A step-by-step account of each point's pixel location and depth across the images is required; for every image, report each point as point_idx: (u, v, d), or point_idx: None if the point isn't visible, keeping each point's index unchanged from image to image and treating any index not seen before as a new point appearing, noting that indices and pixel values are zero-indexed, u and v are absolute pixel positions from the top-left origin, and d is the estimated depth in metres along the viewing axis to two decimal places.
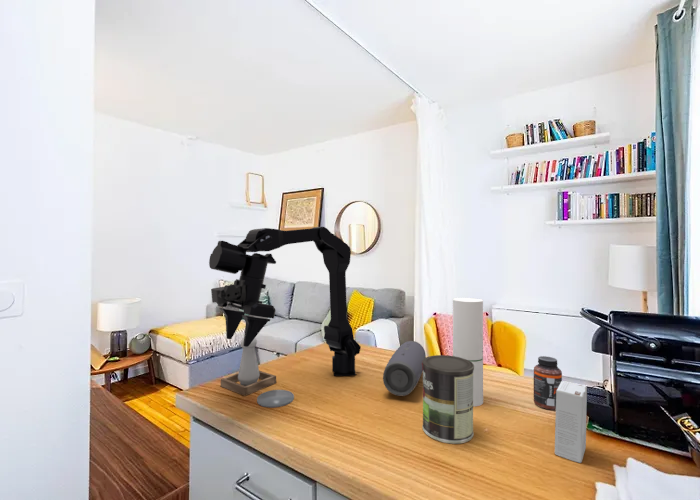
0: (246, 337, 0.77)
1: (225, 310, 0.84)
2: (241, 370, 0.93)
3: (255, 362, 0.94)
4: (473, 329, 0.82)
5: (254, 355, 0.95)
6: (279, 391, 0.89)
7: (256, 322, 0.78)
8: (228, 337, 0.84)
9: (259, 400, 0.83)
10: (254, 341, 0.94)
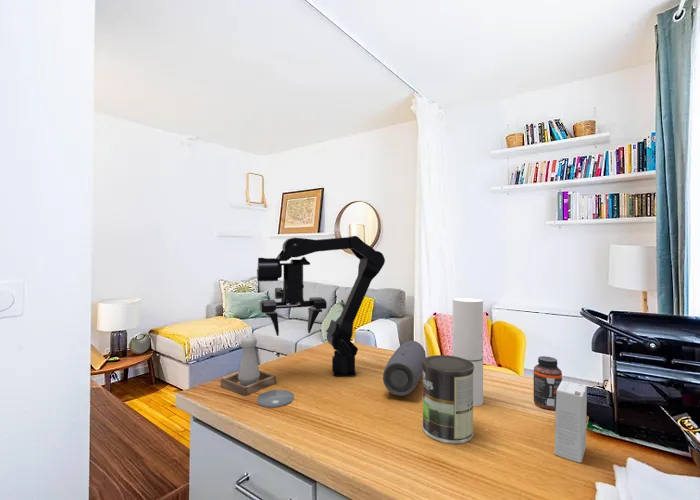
0: None
1: (308, 308, 1.04)
2: (241, 370, 0.93)
3: (255, 362, 0.94)
4: (473, 329, 0.82)
5: (254, 355, 0.95)
6: (279, 391, 0.89)
7: None
8: (308, 331, 1.01)
9: (259, 400, 0.83)
10: (254, 341, 0.94)
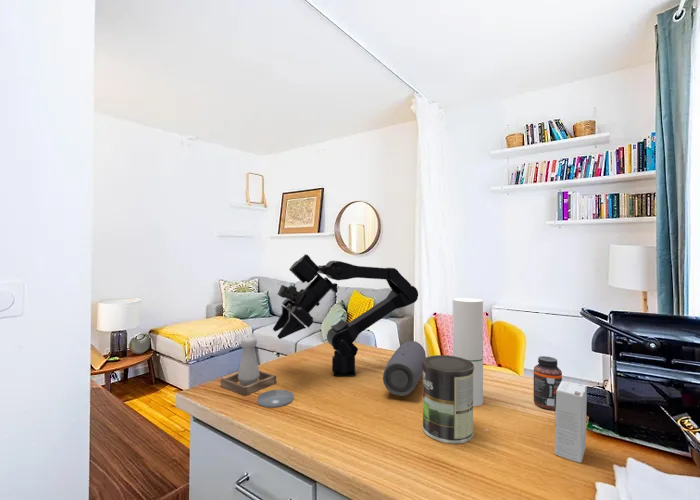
0: (282, 330, 0.93)
1: (283, 308, 1.03)
2: (241, 370, 0.93)
3: (255, 362, 0.94)
4: (473, 329, 0.82)
5: (254, 355, 0.95)
6: (279, 391, 0.89)
7: (295, 324, 0.94)
8: (274, 329, 1.02)
9: (259, 400, 0.83)
10: (254, 341, 0.94)
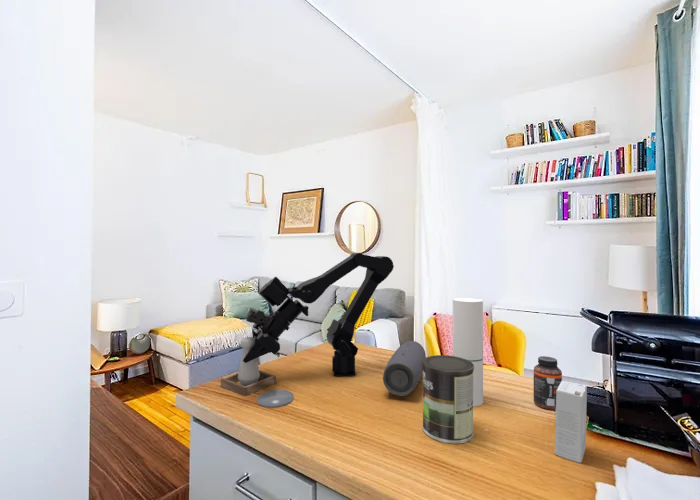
0: (247, 354, 0.92)
1: (254, 333, 0.98)
2: (241, 370, 0.93)
3: (255, 362, 0.94)
4: (473, 329, 0.82)
5: None
6: (279, 391, 0.89)
7: (261, 348, 0.93)
8: None
9: (259, 400, 0.83)
10: None
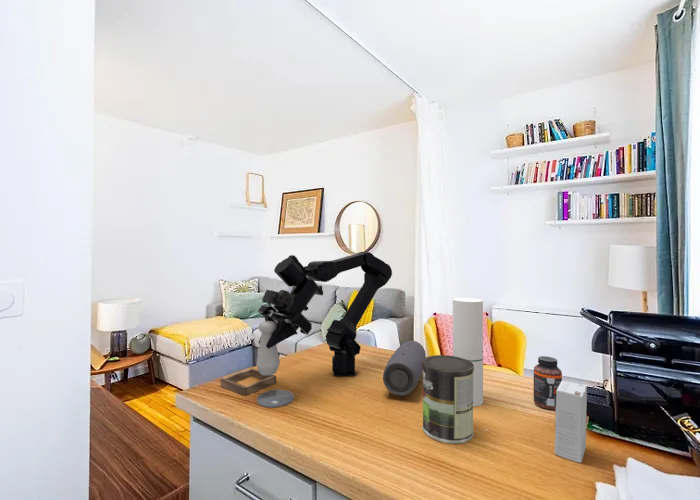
0: (272, 339, 0.85)
1: (269, 317, 0.90)
2: (263, 357, 0.85)
3: (276, 347, 0.87)
4: (473, 329, 0.82)
5: None
6: (279, 391, 0.89)
7: (285, 330, 0.87)
8: None
9: (259, 400, 0.83)
10: (275, 324, 0.87)
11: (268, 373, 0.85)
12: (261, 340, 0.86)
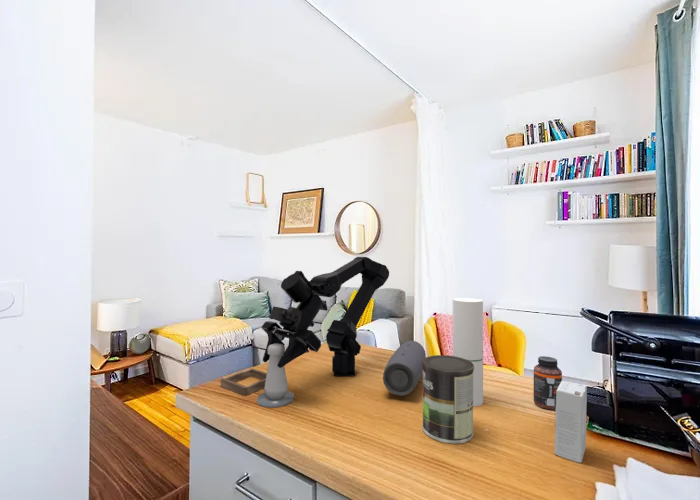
0: (283, 358, 0.83)
1: (272, 333, 0.89)
2: (273, 381, 0.83)
3: (284, 370, 0.86)
4: (473, 329, 0.82)
5: None
6: None
7: (296, 349, 0.85)
8: (264, 359, 0.86)
9: (259, 400, 0.83)
10: (284, 347, 0.86)
11: (277, 397, 0.84)
12: (270, 363, 0.85)
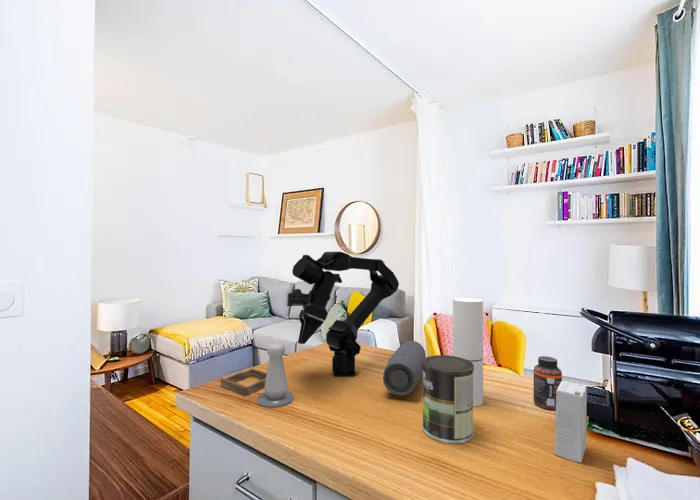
0: (302, 334, 0.89)
1: (300, 318, 1.00)
2: (272, 381, 0.83)
3: (284, 370, 0.86)
4: (473, 329, 0.82)
5: None
6: None
7: (312, 323, 0.90)
8: (299, 342, 0.98)
9: (259, 400, 0.83)
10: (284, 348, 0.86)
11: (277, 397, 0.84)
12: (269, 364, 0.85)
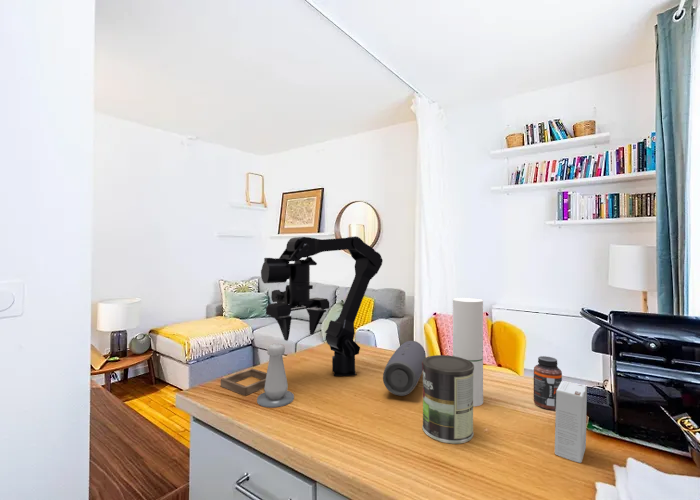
0: (282, 332, 0.92)
1: (307, 310, 1.01)
2: (272, 381, 0.83)
3: (284, 370, 0.86)
4: (473, 329, 0.82)
5: None
6: None
7: (284, 320, 0.91)
8: (310, 332, 0.99)
9: (259, 400, 0.83)
10: (284, 348, 0.86)
11: (277, 397, 0.84)
12: (269, 364, 0.85)
